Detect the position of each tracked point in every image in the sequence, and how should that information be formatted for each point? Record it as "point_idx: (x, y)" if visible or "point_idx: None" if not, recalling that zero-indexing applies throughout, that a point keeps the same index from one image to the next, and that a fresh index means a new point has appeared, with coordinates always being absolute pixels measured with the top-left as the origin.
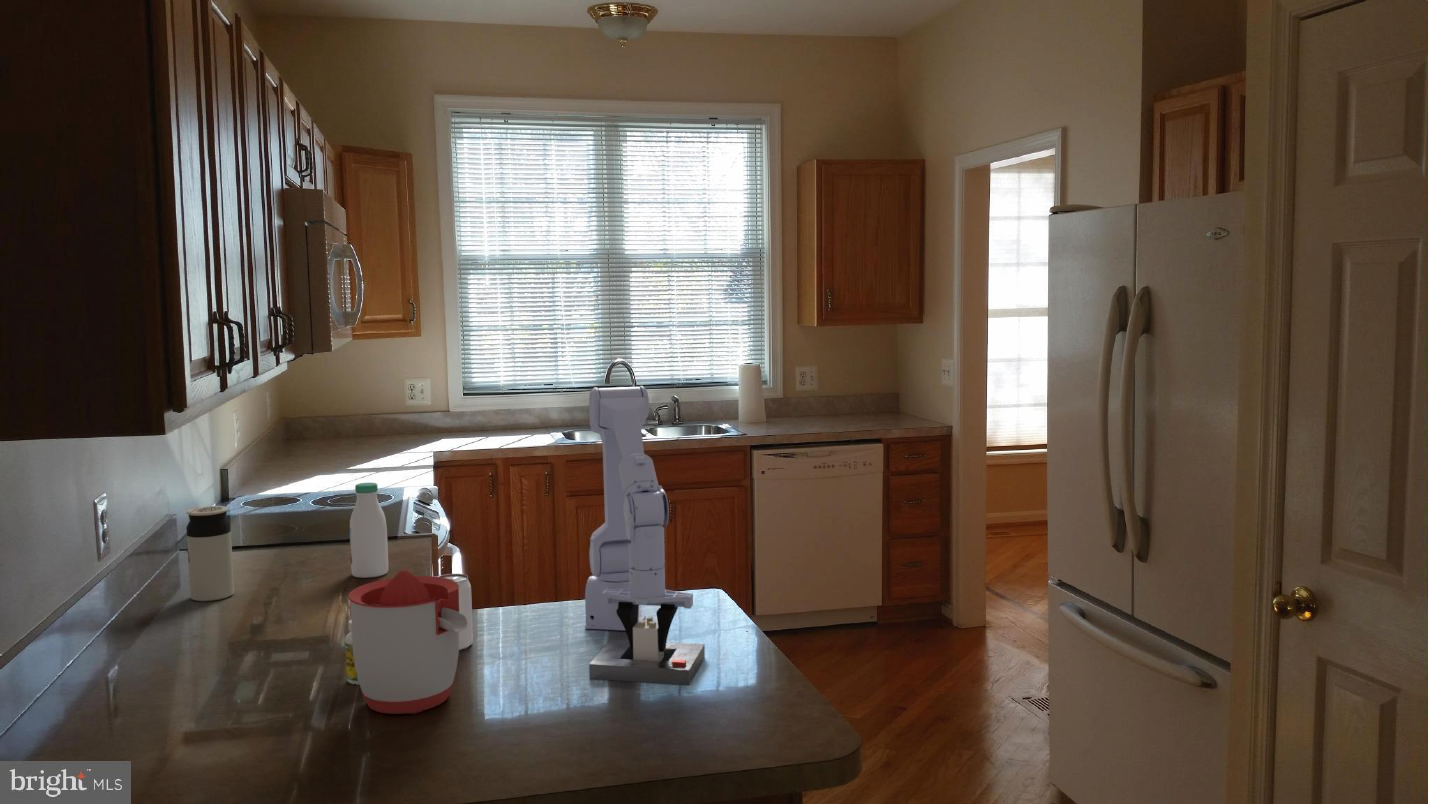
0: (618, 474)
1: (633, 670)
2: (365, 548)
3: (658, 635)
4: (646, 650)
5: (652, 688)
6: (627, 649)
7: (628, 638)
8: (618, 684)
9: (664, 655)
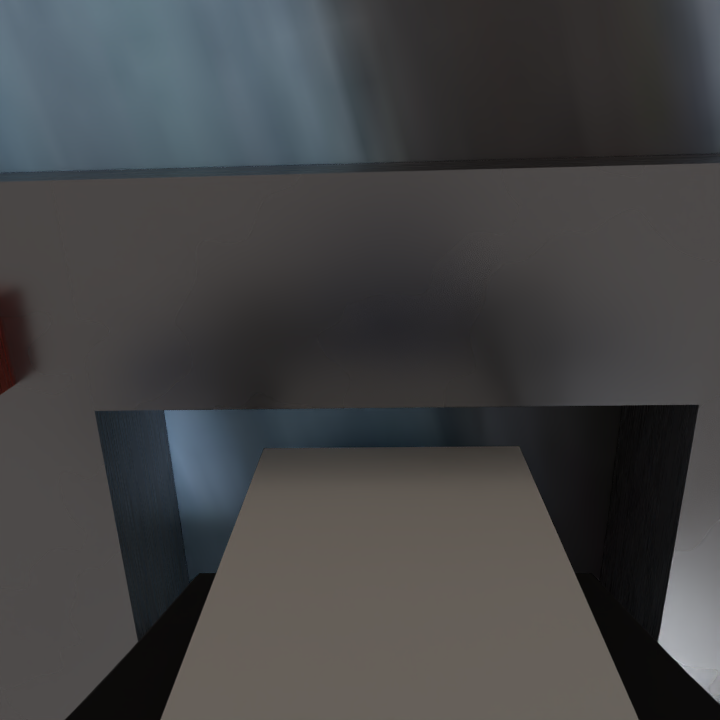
0: None
1: (453, 166)
2: None
3: None
4: (379, 541)
5: (194, 13)
6: None
7: (693, 681)
8: (585, 55)
9: None
